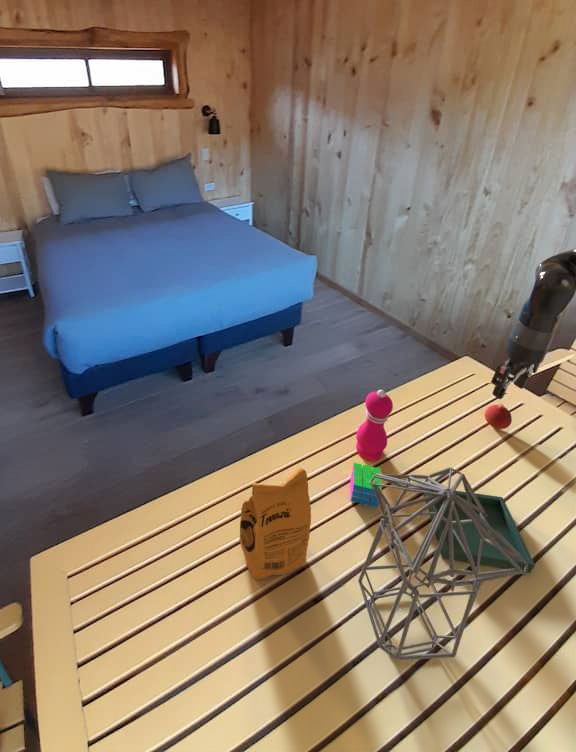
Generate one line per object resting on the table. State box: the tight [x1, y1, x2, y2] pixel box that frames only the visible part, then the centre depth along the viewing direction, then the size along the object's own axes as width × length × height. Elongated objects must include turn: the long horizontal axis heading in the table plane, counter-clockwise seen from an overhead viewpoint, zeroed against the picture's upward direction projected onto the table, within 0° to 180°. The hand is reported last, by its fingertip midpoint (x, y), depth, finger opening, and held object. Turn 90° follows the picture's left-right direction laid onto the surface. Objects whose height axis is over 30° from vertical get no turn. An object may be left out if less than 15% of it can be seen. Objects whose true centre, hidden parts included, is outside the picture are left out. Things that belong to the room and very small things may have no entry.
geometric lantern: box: [357, 466, 528, 662], centre depth 62 cm, size 16×16×35 cm
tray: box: [422, 490, 536, 574], centre depth 83 cm, size 16×14×3 cm
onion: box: [484, 403, 513, 430], centre depth 105 cm, size 6×6×8 cm
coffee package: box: [239, 467, 312, 581], centre depth 76 cm, size 10×12×22 cm
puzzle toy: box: [350, 462, 383, 509], centre depth 90 cm, size 6×6×6 cm
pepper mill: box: [355, 389, 394, 462], centre depth 97 cm, size 7×7×20 cm
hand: (507, 391), depth 101 cm, fingers open, 8 cm apart
